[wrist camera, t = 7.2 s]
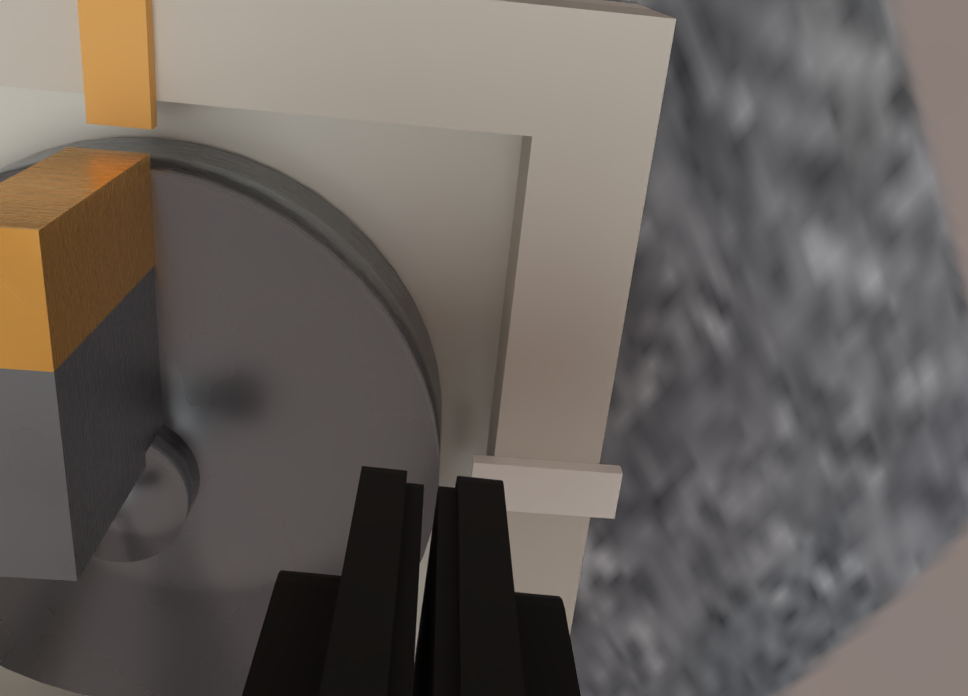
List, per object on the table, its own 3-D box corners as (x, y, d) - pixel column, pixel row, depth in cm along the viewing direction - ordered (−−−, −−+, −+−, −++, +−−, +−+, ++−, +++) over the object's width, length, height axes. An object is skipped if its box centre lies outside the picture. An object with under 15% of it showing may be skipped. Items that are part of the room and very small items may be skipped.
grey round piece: (424, 634, 21) (408, 906, 15) (-64, 607, 21) (-278, 877, 15) (464, 147, 17) (464, 263, 11) (-162, 93, 16) (-526, 185, 10)
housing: (546, 689, 24) (559, 814, 21) (-137, 647, 23) (-242, 771, 20) (662, -17, 17) (711, -5, 14) (-307, -120, 16) (-515, -134, 13)
